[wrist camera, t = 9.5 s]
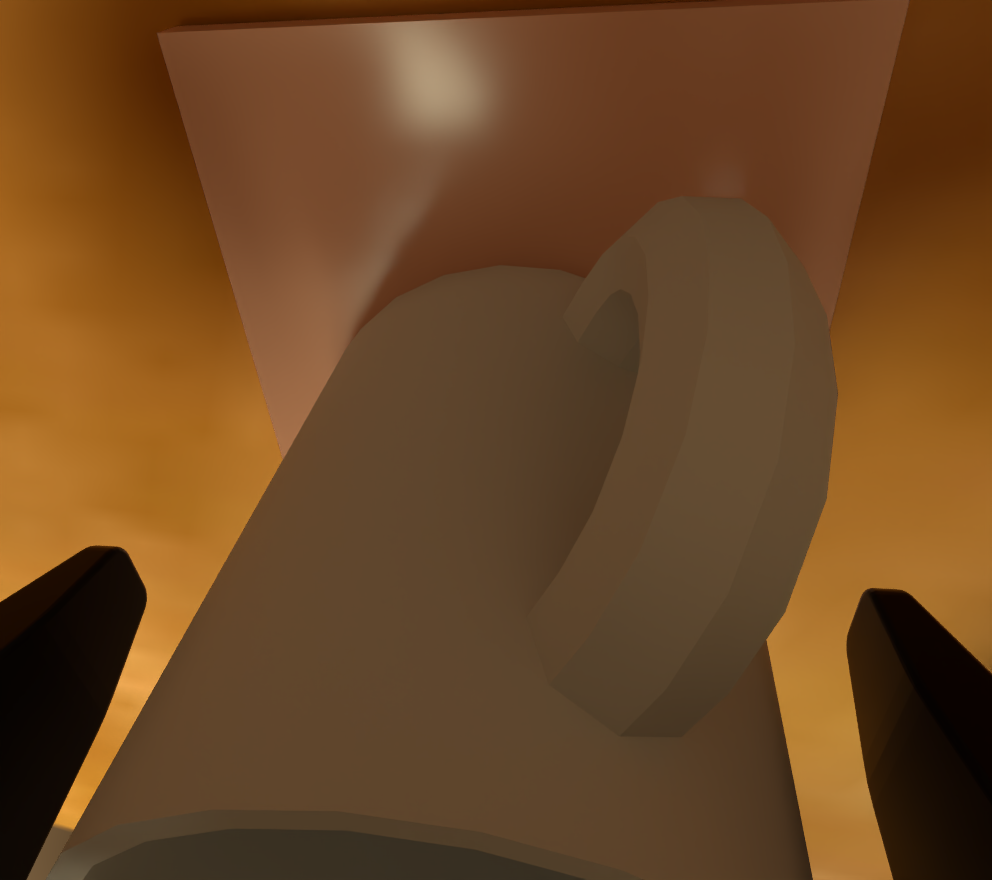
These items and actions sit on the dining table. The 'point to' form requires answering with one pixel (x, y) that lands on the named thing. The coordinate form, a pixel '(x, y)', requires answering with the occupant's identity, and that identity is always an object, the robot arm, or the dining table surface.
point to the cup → (510, 590)
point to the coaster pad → (511, 148)
